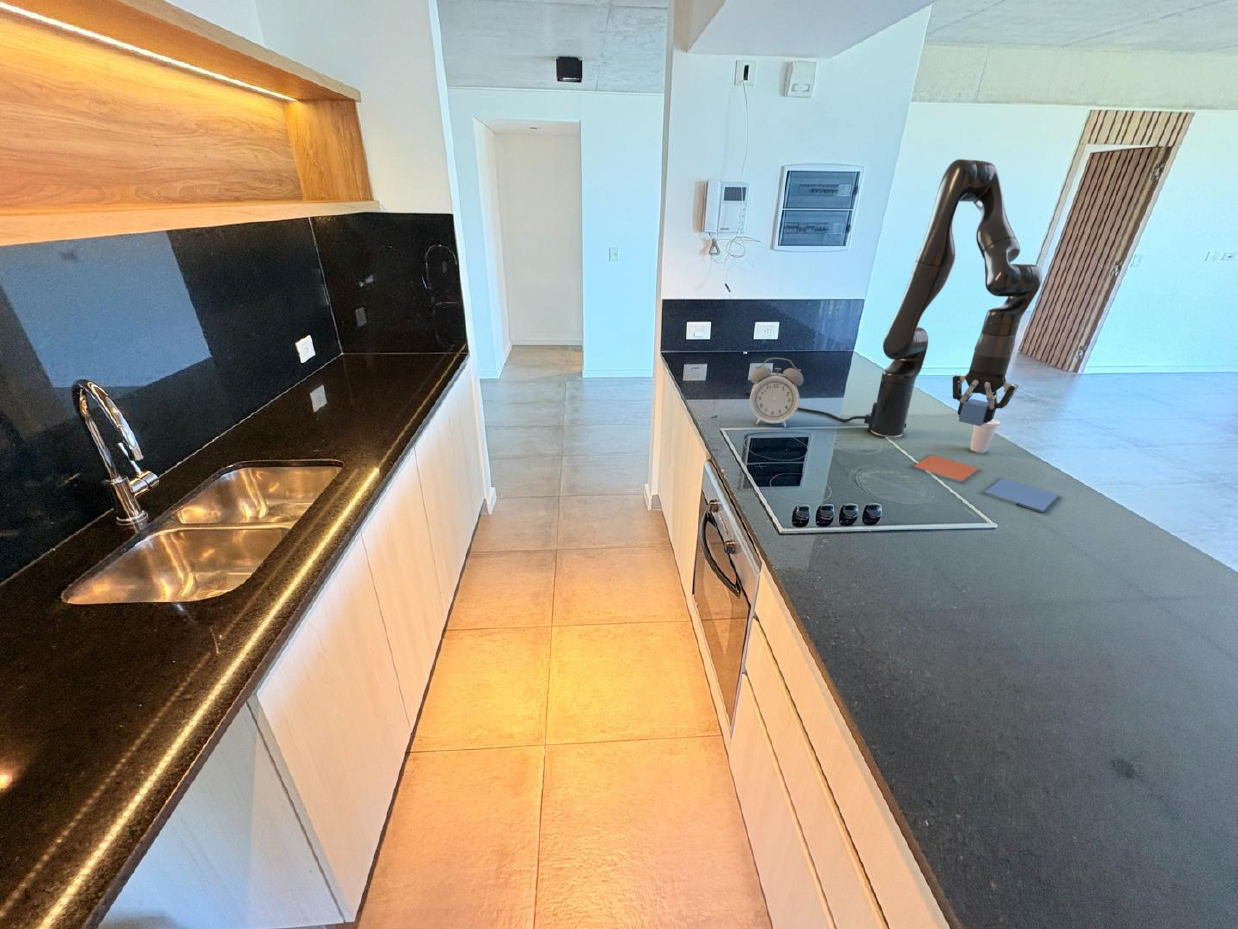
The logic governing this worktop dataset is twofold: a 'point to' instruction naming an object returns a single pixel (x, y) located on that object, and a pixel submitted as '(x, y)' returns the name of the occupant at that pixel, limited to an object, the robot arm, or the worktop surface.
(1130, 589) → the worktop surface
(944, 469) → the terracotta mat
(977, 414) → the blue block
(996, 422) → the smoothie
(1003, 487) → the blue mat
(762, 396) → the alarm clock
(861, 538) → the worktop surface
